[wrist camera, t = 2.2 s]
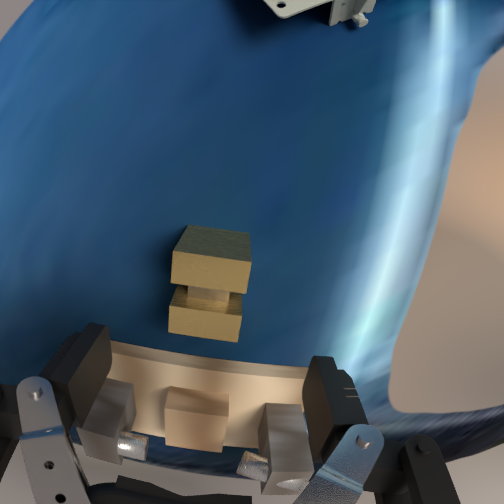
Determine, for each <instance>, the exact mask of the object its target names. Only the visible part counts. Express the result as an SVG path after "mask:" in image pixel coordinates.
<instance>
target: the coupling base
mask: <svg viewBox="0 0 504 504" xmlns="http://www.w3.org/2000/svg"><path fill="white" fill-rule="evenodd" d="M110 342H111V350H112V365H111V369H110V372H109V374H108V376H107V377H106V379H105V381H104V383H103V385H102V387H101V389H100V391H99V393H98V395H97V397H96V399H95V401H94V404H93V406H92V408H91V410H90V412H89V414H88V416H87V418H86V420H85V422H84V424H83V426H82V429H81V428H78V427H76V429H77V432H78V434H79V437H80V440H81V442H82V445H83V447H84V450H85V452H86V455H87V456H90V457H94V458H97V459H100V460H104V461H107V462H111V463H115V464H119V465H121V463H122V460H123V457H124V456H122V455H119V454H118V452H117V443H118V438H119V435H120V433H121V431H124V432H128V433H131V430H132V431H136V432H141V433H145V434H150V435H155V436H161V437H165V438H166V445H170V446H176V447H182V448H189V449H196V450H204V451H212V452H222V448H223V445H224V446H234V447H247V448H259V455H260V456H263V457H266V458H267V460H268V476H267V480H266V482H262V481H261V494H262V495H293V494H300V492H298V491H294V490H290V489H286V488H282V487H279V486H277V483H279V482H283V481H288V480H294V479H303V478H307V480H306V483H307V482H308V480H309V479H310V477H311V476H312V474H313V473H314V467H313V462H312V457H311V452H310V447H309V442H308V437H307V432H306V427H305V422H304V417H303V412H304V406H303V400H302V388H303V383H304V380H305V377H306V374H307V371H308V367H293V366H280V365H268V364H258V363H248V362H239V361H230V360H222V359H215V358H207V357H200V356H194V355H187V354H181V353H175V352H169V351H163V350H157V349H152V348H146V347H141V346H136V345H131V344H126V343H122V342H117V341H112V340H110ZM306 483H305V485H306ZM305 485H304V486H305ZM303 488H304V487H303Z"/></svg>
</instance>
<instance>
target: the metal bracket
mask: <svg viewBox="0 0 504 504" xmlns="http://www.w3.org/2000/svg"><path fill="white" fill-rule="evenodd" d="M263 1H264V2H265V3H266V4H267V5H268V6H269V7H270V9H271V10H272V11H273V12H274V13H275V14H276V15H277V16H278V17H279V18H283V19H284V18H288V17H290V16H293V15H295V14H298V13H300V12H303V11H305V10H308V9H311V8H313V7H316V6H319V5H321V4H324V3H327V2H330V1H332V7H331V12H330V18H329V25H330V26H332V25H335V24H337V22H338V21H341V22H343V21H345V20H348V19H351V18H352V20H353V21H354V22H355V23H357V24H358V27H363V26H365V25H366V24H367V23H368V19H365V16H364V15H363V14H362V13H364V12H365V13H368V12H372V10H373V8H374V5H375V2H376V0H263ZM280 3H282V4H285V5H286V7H284V8H278V7H277V5H278V4H280Z"/></svg>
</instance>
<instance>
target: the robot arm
mask: <svg viewBox="0 0 504 504" xmlns="http://www.w3.org/2000/svg"><path fill="white" fill-rule="evenodd" d="M111 365H112V350H111V342H110V333H109V328H108V326H104V325H100V324H95V323H89V324H88V325H87V326H86V328H85V329H84V330H83V332H82V333H80V332H76V333H74V334H72V335H71V336H69V337H68V338H67V339H66V340H65V341H64V342H63V344H62V345H61V348H59V349H58V350H57V352H56V354H54V356H53V357H52V358H51V360H50V361H49V362H48V364H47V365H46V367H45V368H44V369H43V371H42V372H41V373H40V375H39V376H38V377H29V378H26V379H24V380H23V381H21V382H20V383H19V385H18V386H15V385H5V384H0V482H1V479H2V477H3V475H4V472H5V470H6V468H7V466H8V463H9V461H10V459H11V457H12V455H13V452H14V450H15V448H16V446H17V444H18V442H19V440H20V444H21V449H22V453H23V457H24V462H25V466H26V470H27V474H28V478H29V481H30V485H31V488H32V492H33V495H34V498H35V501H36V504H252V496H241V495H227V494H209V495H196V496H181V495H178V494H175V493H172V492H170V491H168V490H165V489H163V488H160V487H158V486H156V485H154V484H152V483H149V482H144V481H140V480H136V479H132V478H127V477H124V476H120V475H118V478H117V481H116V483H113V482H112V483H101V484H96V485H92V486H90V485H89V483H88V480H87V478H86V476H85V474H84V472H83V469H82V467H81V464H80V462H79V459H78V457H77V454H76V451H75V448H74V446H73V443H72V440H71V437H70V434H69V430H70V428H71V426H75V427H78V428H81V429H82V426H83V424H84V422H85V420H86V418H87V416H88V414H89V412H90V410H91V408H92V406H93V404H94V401H95V399H96V397H97V395H98V393H99V391H100V389H101V387H102V385H103V383H104V381H105V379H106V377H107V376H108V374H109V372H110V369H111ZM302 400H303V406H304V412H305V417H306V423H307V428H308V434H309V440H310V446H311V451H312V457H313V463H323V464H324V465H323V467H322V468H320V470H319V471H318V472H317V473H316V475H315V476H314V477H313V479H312V480H311V481H310V483H309V484H308V485H307V486H306V488H305V489H304V490H303V492H302V493H301V494H300V495H299V497H298V498H297V499H296V500H295V501H294V503H293V504H356V502H357V500H358V499H359V497H360V495H361V494H362V492H363V491H369V492H374V495H375V500H376V504H460V501H459V498H458V495H457V493H456V490H455V487H454V485H453V482H452V479H451V477H450V474H449V471H448V469H447V466H446V464H445V461H444V459H443V456H442V454H441V452H440V449H439V447H438V445H437V443H436V442H435V441H434V440H433V439H432V438H430V437H428V436H425V435H414V436H411V437H410V438H409V439H408V440H407V441H406V443H403V442H397V441H391V440H386V439H384V438H383V436H382V434H381V433H380V431H378V430H377V429H376V428H374V427H372V426H370V425H369V424H368V421H367V418H366V415H365V413H364V410H363V407H362V404H361V402H360V399H359V398H358V394H357V391H356V390H355V386H354V383H353V380H352V378H351V377H350V376H349V375H348V374H347V373H346V372H345V371H344V370H337V367H336V364H335V361H334V358H333V357H327V356H313V357H312V359H311V362H310V365H309V368H308V371H307V374H306V377H305V380H304V383H303V388H302Z"/></svg>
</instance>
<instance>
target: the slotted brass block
mask: <svg viewBox="0 0 504 504" xmlns="http://www.w3.org/2000/svg"><path fill="white" fill-rule="evenodd" d="M251 263H252V261H251V248H250V234H249V233H244V232H237V231H230V230H223V229H216V228H209V227H202V226H195V225H188V226H187V228H186V230H185V231H184V233H183V235H182V236H181V238H180V240H179V242H178V243H177V245H176V247H175V248H174V250H173V258H172V272H171V283H175V284H178V286H177V288H176V291H175V293H174V296H173V298H172V301H171V303H170V306H169V329H168V332H170V333H176V334H182V335H188V336H195V337H202V338H209V339H216V340H223V341H231V342H238V336H239V331H240V325H241V319H242V293H244V294H246V291H247V285H248V280H249V274H250V268H251Z"/></svg>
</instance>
